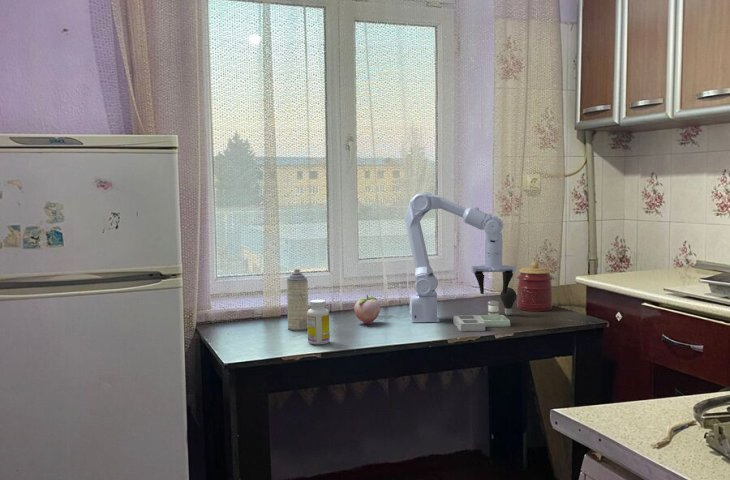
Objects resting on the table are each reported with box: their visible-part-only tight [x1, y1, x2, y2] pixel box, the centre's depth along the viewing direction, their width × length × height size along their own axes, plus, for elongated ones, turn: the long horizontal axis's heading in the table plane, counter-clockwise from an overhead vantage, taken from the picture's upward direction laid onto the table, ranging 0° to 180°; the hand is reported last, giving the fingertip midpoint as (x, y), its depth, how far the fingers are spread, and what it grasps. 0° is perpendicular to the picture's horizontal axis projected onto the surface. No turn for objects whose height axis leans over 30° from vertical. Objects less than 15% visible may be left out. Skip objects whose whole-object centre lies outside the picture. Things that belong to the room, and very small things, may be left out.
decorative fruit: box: [353, 294, 381, 325], centre depth 238 cm, size 9×8×10 cm
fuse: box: [487, 300, 500, 321], centre depth 236 cm, size 4×4×7 cm
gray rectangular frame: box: [452, 314, 486, 332], centre depth 232 cm, size 8×13×2 cm, turn 3°
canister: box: [516, 261, 554, 312], centre depth 261 cm, size 13×13×18 cm
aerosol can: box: [286, 268, 309, 332], centre depth 231 cm, size 7×7×20 cm
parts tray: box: [476, 314, 511, 328], centre depth 236 cm, size 9×9×2 cm
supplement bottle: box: [307, 299, 331, 346], centre depth 213 cm, size 7×7×13 cm
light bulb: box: [499, 287, 517, 317], centre depth 249 cm, size 6×6×10 cm
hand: (493, 293), depth 236 cm, fingers open, 7 cm apart
